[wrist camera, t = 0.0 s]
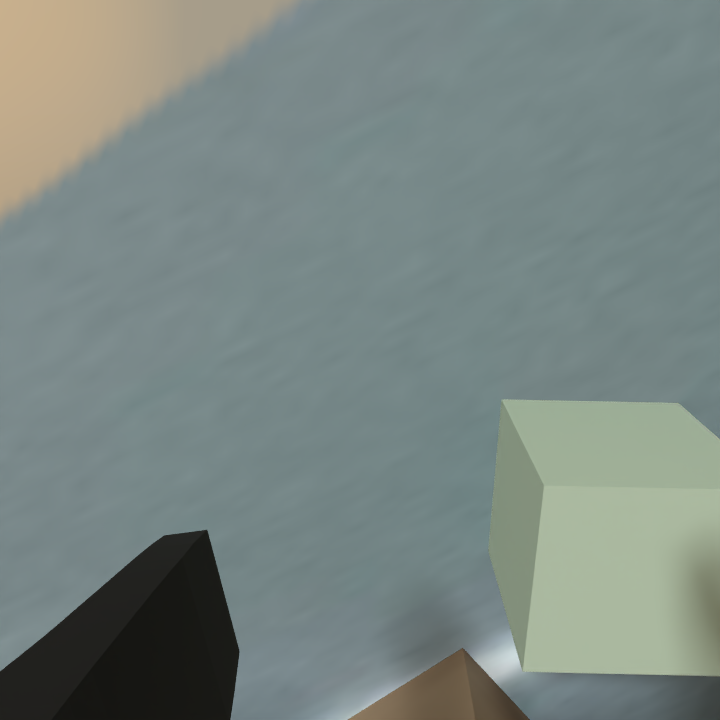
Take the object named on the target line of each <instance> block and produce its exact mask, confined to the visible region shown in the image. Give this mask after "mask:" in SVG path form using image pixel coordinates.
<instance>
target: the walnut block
mask: <svg viewBox="0 0 720 720" xmlns="http://www.w3.org/2000/svg"><path fill="white" fill-rule="evenodd" d="M348 720H530V719H529V718H528V717H527V716H526V715H525V714H524V713H523V712H522V711H521V710H520V709H519V708H518V707H517V706H516V704H515V703H514V702H513V701H512V700H511V699H510V698H509V697H508V696H507V695H506V694H505V693H504V692H503V691H502V689H501V688H500V687H499V686H498V685H497V684H496V683H495V682H494V681H493V680H492V679H491V678H490V677H489V676H488V674H487V673H486V672H485V671H484V670H483V669H482V668H481V667H480V666H479V665H478V664H477V663H476V662H475V661H474V659H473V658H472V657H471V656H470V655H469V654H468V653H467V652H466V651H465V650H464V649H463V648H462V649H460V650H459V651H457V652H455V653H454V654H452V655H451V656H449V657H447V658H446V659H444V660H443V661H441V662H439V663H438V664H436V665H435V666H433V667H431V668H430V669H428V670H427V671H425V672H423V673H422V674H420V675H419V676H417V677H415V678H414V679H412V680H411V681H409V682H407V683H406V684H404V685H403V686H401V687H399V688H398V689H396V690H395V691H393V692H391V693H390V694H388V695H387V696H385V697H383V698H382V699H380V700H378V701H377V702H375V703H374V704H372V705H370V706H369V707H367V708H366V709H364V710H362V711H361V712H359V713H358V714H356V715H354V716H353V717H351V718H350V719H348Z"/></svg>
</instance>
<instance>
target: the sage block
mask: <svg viewBox="0 0 720 720" xmlns="http://www.w3.org/2000/svg"><path fill="white" fill-rule="evenodd" d="M488 551H489V555H490V558H491V562H492V565H493V569H494V572H495V576H496V579H497V583H498V586H499V590H500V593H501V597H502V600H503V604H504V607H505V611H506V615H507V618H508V622H509V625H510V629H511V632H512V636H513V639H514V643H515V646H516V650H517V653H518V657H519V660H520V664H521V668H522V671H523V672H559V673H603V674H647V675H691V676H720V439H719V438H718V437H716V436H715V435H714V434H713V433H712V432H711V431H710V430H708V429H707V428H706V427H705V426H704V425H703V424H702V423H700V422H699V421H698V420H697V419H696V418H695V417H694V416H692V415H691V414H690V413H689V412H688V411H687V410H686V409H684V408H683V407H682V406H681V405H680V404H679V403H648V402H598V401H549V400H502V401H501V412H500V424H499V435H498V447H497V458H496V469H495V481H494V492H493V503H492V515H491V526H490V538H489V549H488Z"/></svg>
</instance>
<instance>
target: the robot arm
mask: <svg viewBox="0 0 720 720" xmlns="http://www.w3.org/2000/svg"><path fill="white" fill-rule="evenodd" d="M238 659H239V648H238V644H237V640H236V636H235V633H234V629H233V625H232V621H231V618H230V614H229V610H228V606H227V603H226V599H225V595H224V591H223V587H222V584H221V580H220V576H219V572H218V569H217V565H216V561H215V557H214V554H213V550H212V546H211V542H210V539H209V535H208V531H207V530H203V531H195V532H188V533H180V534H172V535H165V536H163V537H161V538H160V539H159V540H157V541H156V542H154V543H153V544H152V545H151V546H149V547H148V548H147V549H145V550H144V551H143V552H142V553H141V554H139V555H138V556H137V557H136V558H135V559H133V560H132V561H131V562H130V563H129V564H128V565H126V566H125V567H124V568H123V569H122V570H121V571H119V572H118V573H117V574H116V575H115V576H114V577H113V578H111V579H110V580H109V581H108V582H107V583H106V584H104V585H103V586H102V587H101V588H100V589H99V590H98V591H96V592H95V593H94V594H93V595H92V596H91V597H89V598H88V599H87V600H86V601H85V602H84V603H82V604H81V605H80V606H79V607H78V608H77V609H76V610H74V611H73V612H72V613H71V614H70V615H69V616H67V617H66V618H65V619H64V620H63V621H62V622H60V623H59V624H58V625H57V626H56V627H55V628H53V629H52V630H51V631H50V632H49V633H48V634H46V635H45V636H44V637H43V638H41V639H40V640H39V641H38V642H36V643H35V644H34V645H33V646H31V647H30V648H29V649H28V650H26V651H25V652H24V653H23V654H21V655H20V656H19V657H18V658H16V659H15V660H14V661H13V662H11V663H10V664H9V665H8V666H6V667H5V668H4V669H3V670H2V671H0V720H230V718H231V711H232V704H233V698H234V691H235V683H236V675H237V667H238Z"/></svg>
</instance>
